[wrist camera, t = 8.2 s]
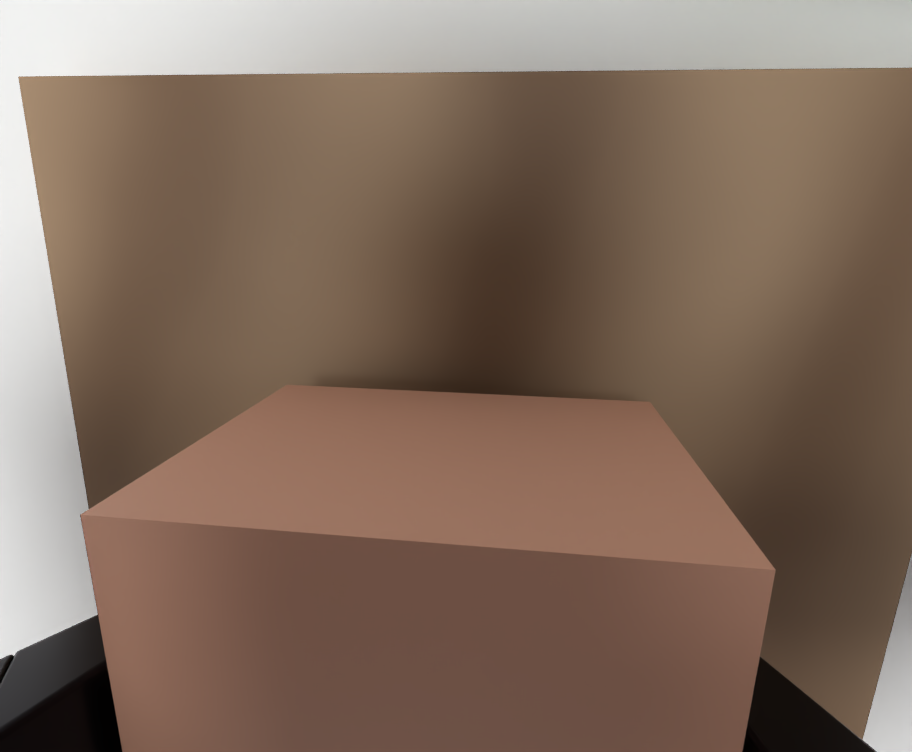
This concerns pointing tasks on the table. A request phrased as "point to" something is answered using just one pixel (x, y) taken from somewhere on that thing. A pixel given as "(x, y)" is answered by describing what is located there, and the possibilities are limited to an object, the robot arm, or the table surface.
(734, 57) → the table surface
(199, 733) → the terracotta brick
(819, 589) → the board
